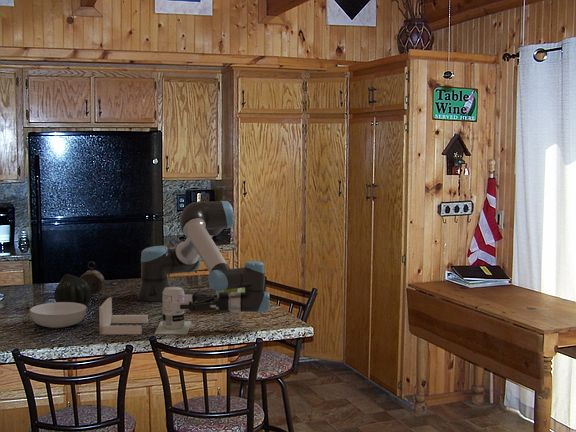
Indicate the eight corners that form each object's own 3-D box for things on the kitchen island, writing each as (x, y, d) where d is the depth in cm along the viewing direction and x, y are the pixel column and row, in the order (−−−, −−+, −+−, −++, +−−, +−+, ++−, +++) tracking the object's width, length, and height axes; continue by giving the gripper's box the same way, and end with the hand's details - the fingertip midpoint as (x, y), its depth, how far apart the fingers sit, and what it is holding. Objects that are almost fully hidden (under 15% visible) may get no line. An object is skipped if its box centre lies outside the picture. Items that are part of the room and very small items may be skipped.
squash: (100, 295, 303) (86, 266, 308) (69, 302, 292) (55, 272, 297) (88, 312, 311) (74, 284, 316) (57, 319, 300) (43, 290, 305)
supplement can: (163, 324, 275) (163, 286, 274) (185, 324, 276) (185, 286, 274) (161, 329, 267) (161, 290, 266) (183, 329, 268) (183, 290, 266)
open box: (147, 322, 280) (147, 297, 279) (141, 334, 262) (141, 307, 261) (108, 322, 279) (108, 297, 278) (99, 334, 262) (99, 307, 261)
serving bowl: (55, 335, 260) (55, 317, 259) (18, 327, 271) (18, 309, 270) (98, 323, 277) (98, 306, 277) (62, 316, 288) (61, 299, 288)
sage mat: (154, 334, 262) (154, 333, 262) (160, 322, 280) (160, 321, 280) (187, 334, 263) (187, 333, 263) (191, 322, 281) (191, 321, 281)
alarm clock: (105, 295, 327) (104, 260, 325) (101, 298, 322) (100, 262, 320) (82, 294, 328) (81, 260, 326) (77, 297, 323) (77, 262, 321)
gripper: (228, 319, 259) (169, 319, 258) (230, 304, 284) (176, 304, 283) (228, 299, 258) (169, 299, 257) (230, 285, 283) (176, 285, 282)
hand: (173, 302), depth 270 cm, fingers open, 13 cm apart
